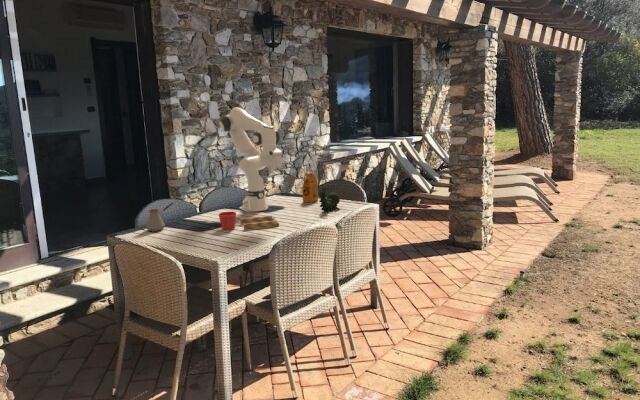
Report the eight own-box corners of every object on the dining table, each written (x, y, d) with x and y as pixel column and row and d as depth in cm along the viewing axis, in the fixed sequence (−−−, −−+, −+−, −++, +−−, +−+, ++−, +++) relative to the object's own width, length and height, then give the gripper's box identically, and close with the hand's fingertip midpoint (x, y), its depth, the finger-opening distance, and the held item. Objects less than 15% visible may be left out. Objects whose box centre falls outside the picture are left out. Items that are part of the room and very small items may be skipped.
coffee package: (300, 202, 377) (299, 173, 373) (309, 199, 388) (307, 171, 383) (311, 203, 372) (310, 174, 368) (320, 200, 383) (318, 171, 378)
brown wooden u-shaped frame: (274, 220, 324) (273, 215, 323) (279, 226, 308) (278, 220, 307) (241, 223, 318) (240, 218, 318) (244, 230, 302) (243, 224, 302)
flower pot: (240, 226, 311) (239, 211, 309) (232, 231, 301) (230, 215, 299) (225, 226, 315) (224, 211, 313) (216, 230, 305) (215, 215, 303)
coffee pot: (153, 233, 304) (151, 209, 301) (142, 231, 311) (139, 207, 308) (181, 225, 321) (179, 202, 318) (170, 223, 328) (168, 201, 325)
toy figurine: (329, 215, 336) (344, 205, 358) (327, 188, 331) (342, 179, 353) (317, 215, 341) (332, 204, 362) (314, 188, 335) (330, 179, 357)
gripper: (256, 151, 320) (258, 172, 322) (275, 152, 304) (276, 175, 307) (264, 150, 324) (266, 171, 326) (283, 151, 308) (284, 173, 311)
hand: (271, 173), depth 317 cm, fingers closed
